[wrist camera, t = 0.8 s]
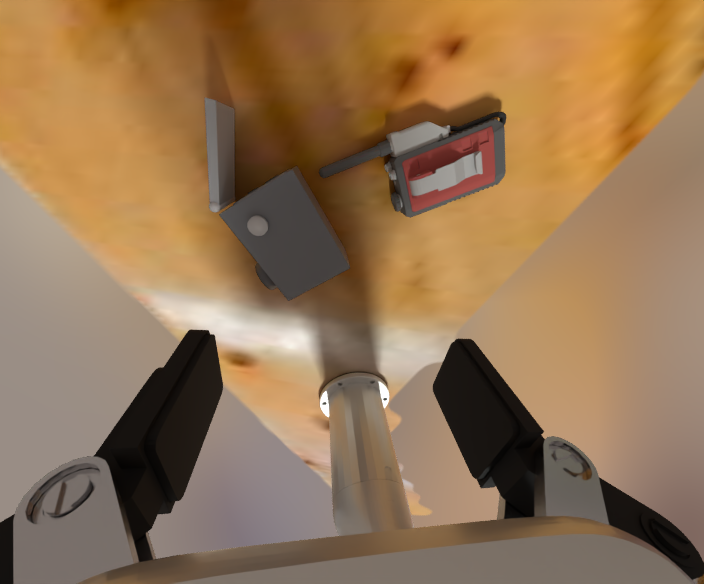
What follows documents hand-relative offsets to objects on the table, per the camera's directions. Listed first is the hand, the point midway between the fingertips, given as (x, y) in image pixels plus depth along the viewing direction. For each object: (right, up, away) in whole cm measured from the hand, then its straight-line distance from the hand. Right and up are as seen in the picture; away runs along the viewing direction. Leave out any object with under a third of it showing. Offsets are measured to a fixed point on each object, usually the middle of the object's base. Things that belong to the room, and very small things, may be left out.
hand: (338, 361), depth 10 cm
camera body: (-6, +10, +20) cm, 23 cm away
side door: (-12, +17, +16) cm, 26 cm away
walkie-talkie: (+7, +17, +19) cm, 26 cm away
